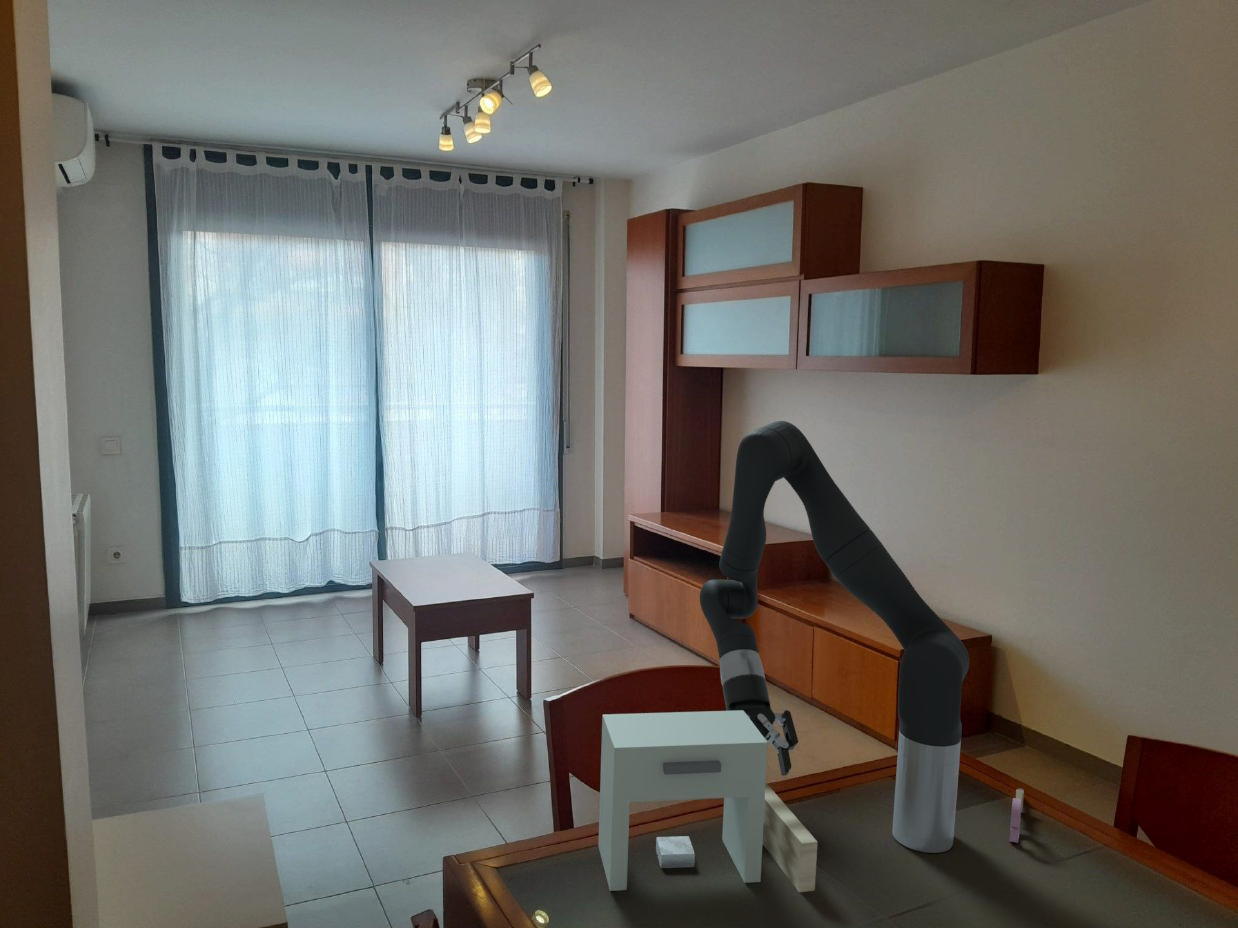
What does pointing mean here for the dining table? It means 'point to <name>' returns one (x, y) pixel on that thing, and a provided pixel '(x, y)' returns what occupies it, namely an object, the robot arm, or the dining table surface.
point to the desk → (683, 779)
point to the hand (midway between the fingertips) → (760, 774)
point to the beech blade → (789, 842)
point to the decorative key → (1016, 815)
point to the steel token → (675, 852)
